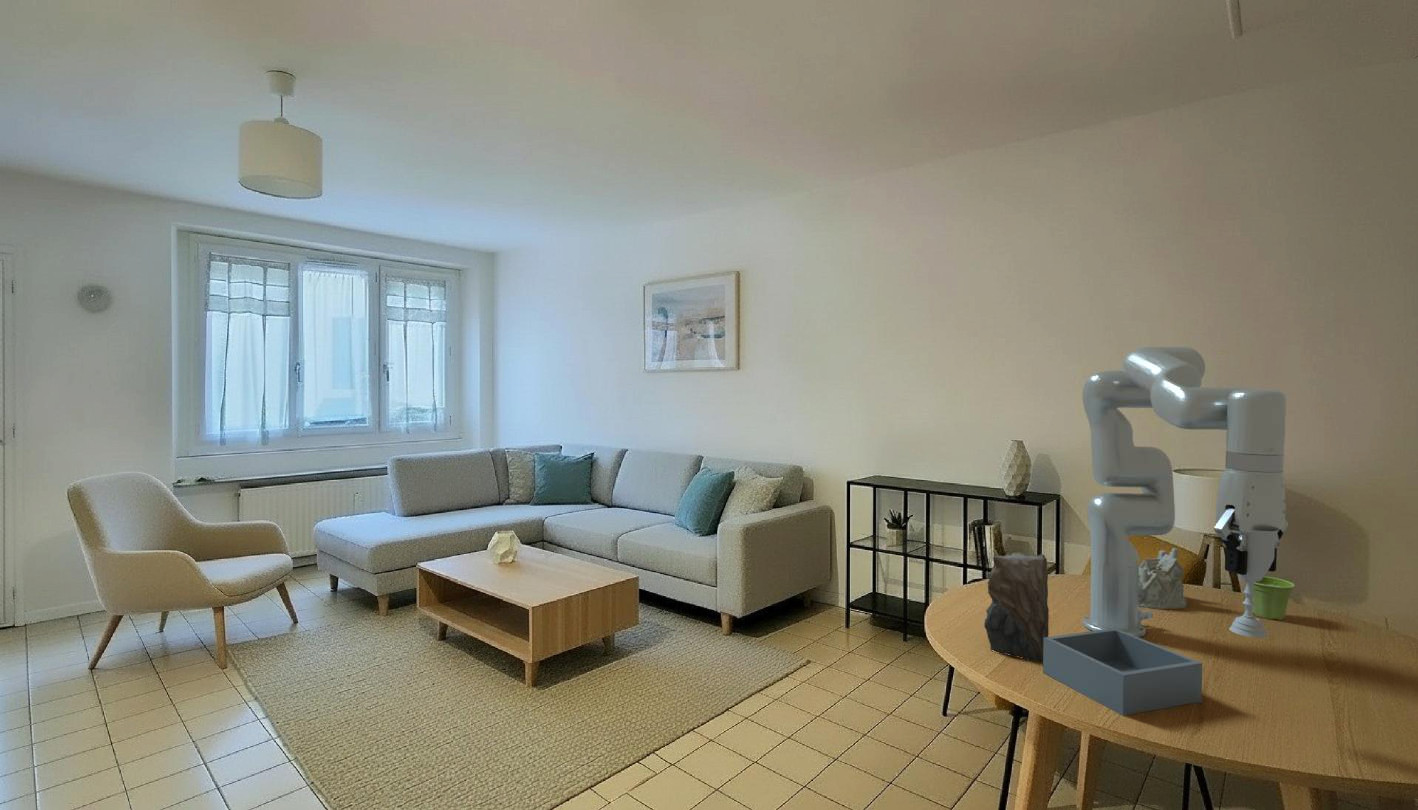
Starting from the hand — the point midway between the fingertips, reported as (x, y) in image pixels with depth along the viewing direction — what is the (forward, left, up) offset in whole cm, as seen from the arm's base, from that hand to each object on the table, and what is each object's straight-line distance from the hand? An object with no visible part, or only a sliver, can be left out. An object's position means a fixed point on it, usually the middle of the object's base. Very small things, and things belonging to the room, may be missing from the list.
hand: (1250, 569), depth 113 cm
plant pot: (-60, -37, -26) cm, 75 cm away
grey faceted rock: (+14, -36, -26) cm, 46 cm away
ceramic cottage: (-44, -55, -26) cm, 75 cm away
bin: (+9, -17, -26) cm, 32 cm away
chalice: (0, 0, -11) cm, 11 cm away
